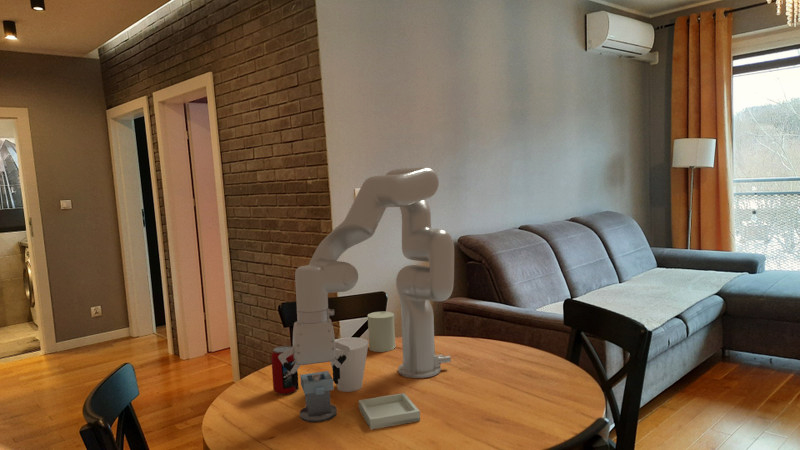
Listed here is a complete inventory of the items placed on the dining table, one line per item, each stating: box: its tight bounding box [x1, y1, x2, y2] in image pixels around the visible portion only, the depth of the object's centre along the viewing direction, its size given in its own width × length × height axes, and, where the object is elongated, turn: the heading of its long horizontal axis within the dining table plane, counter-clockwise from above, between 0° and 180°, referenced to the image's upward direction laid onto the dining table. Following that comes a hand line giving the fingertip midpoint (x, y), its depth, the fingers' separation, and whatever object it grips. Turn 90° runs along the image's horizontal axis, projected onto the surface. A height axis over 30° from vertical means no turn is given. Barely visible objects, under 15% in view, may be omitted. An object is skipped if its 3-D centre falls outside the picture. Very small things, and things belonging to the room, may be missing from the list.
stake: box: [299, 374, 338, 424], centre depth 136 cm, size 9×9×10 cm
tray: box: [358, 392, 421, 430], centre depth 134 cm, size 12×12×2 cm
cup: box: [330, 337, 369, 393], centre depth 153 cm, size 12×12×12 cm
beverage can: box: [271, 345, 299, 396], centre depth 152 cm, size 7×7×12 cm
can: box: [367, 311, 397, 353], centre depth 188 cm, size 9×9×12 cm
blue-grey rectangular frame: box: [299, 370, 335, 395], centre depth 135 cm, size 7×9×2 cm
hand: (316, 385), depth 136 cm, fingers open, 9 cm apart
